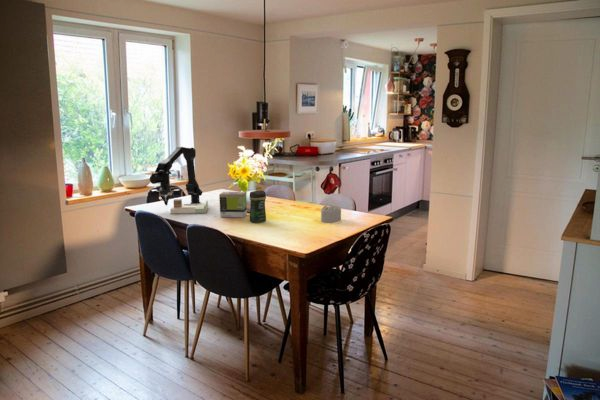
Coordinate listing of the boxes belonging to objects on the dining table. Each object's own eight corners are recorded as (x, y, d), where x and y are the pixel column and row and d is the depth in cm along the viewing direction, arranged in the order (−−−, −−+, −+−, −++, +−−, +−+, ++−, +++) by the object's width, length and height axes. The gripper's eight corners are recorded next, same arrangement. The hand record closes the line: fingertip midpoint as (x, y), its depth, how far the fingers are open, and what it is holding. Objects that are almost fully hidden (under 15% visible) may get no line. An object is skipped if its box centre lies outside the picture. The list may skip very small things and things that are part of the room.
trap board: (174, 208, 315) (174, 201, 314) (207, 207, 317) (207, 200, 316) (170, 214, 299) (170, 206, 298) (205, 213, 301) (205, 205, 300)
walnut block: (174, 206, 308) (174, 199, 308) (181, 205, 309) (181, 199, 308) (173, 207, 304) (173, 200, 303) (180, 207, 304) (180, 200, 304)
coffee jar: (255, 224, 274) (255, 192, 271) (247, 221, 280) (246, 190, 276) (268, 221, 281) (268, 190, 277) (260, 218, 287) (259, 188, 283)
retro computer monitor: (247, 214, 299) (246, 191, 296) (243, 218, 289) (243, 194, 286) (223, 213, 300) (223, 191, 297) (219, 217, 290) (219, 193, 288)
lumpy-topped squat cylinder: (343, 219, 285) (343, 205, 284) (331, 224, 275) (332, 209, 273) (328, 217, 291) (328, 203, 289) (316, 221, 281) (317, 207, 279)
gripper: (147, 183, 294) (148, 208, 297) (177, 183, 296) (179, 207, 299) (151, 181, 305) (152, 204, 308) (180, 180, 306) (181, 204, 310)
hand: (166, 205), depth 306 cm, fingers closed
